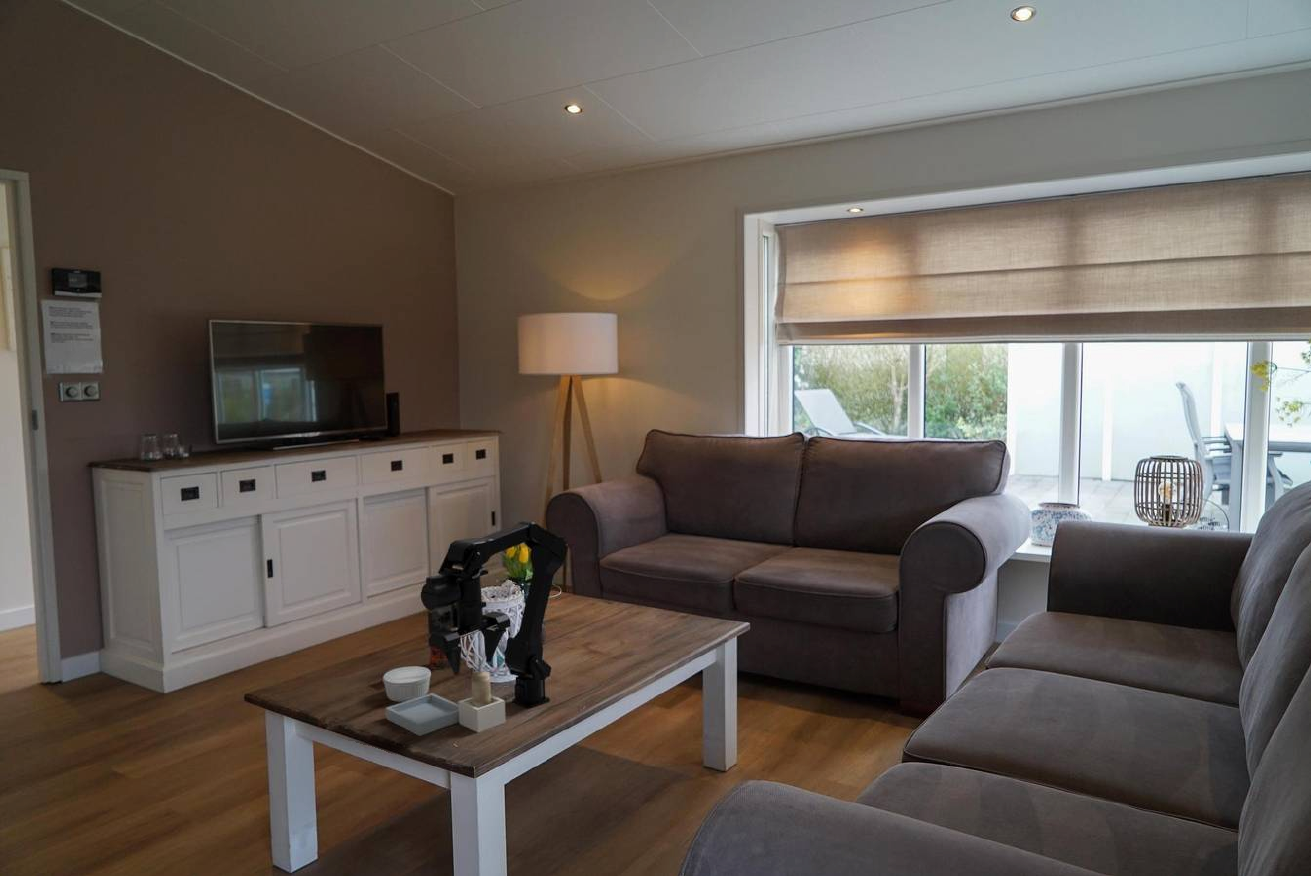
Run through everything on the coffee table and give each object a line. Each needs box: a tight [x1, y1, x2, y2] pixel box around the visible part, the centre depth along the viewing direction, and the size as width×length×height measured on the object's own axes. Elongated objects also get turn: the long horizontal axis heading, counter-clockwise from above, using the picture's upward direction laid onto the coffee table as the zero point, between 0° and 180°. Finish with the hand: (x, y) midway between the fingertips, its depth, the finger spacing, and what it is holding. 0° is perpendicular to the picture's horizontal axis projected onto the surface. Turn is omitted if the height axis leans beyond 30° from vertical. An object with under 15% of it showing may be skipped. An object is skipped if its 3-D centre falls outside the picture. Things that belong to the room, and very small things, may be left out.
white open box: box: [458, 694, 507, 733], centre depth 197 cm, size 7×7×5 cm
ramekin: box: [382, 665, 432, 703], centre depth 215 cm, size 11×11×5 cm
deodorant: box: [427, 606, 453, 670], centre depth 235 cm, size 6×6×15 cm
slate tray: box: [385, 692, 459, 737], centre depth 200 cm, size 12×14×2 cm
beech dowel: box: [470, 671, 492, 708], centre depth 197 cm, size 4×4×11 cm
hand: (472, 668), depth 195 cm, fingers open, 9 cm apart
